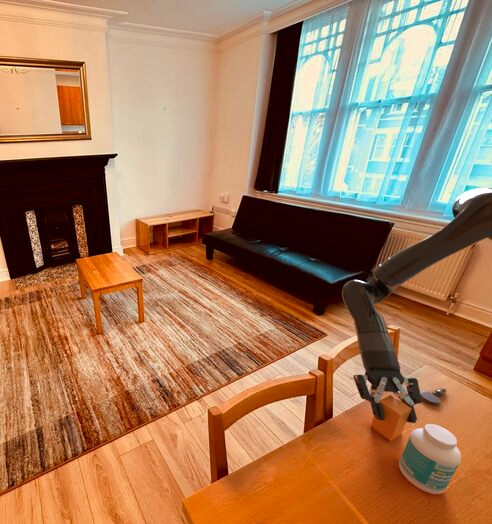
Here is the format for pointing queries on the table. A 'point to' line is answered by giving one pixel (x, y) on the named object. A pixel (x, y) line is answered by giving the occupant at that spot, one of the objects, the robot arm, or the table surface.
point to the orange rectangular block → (392, 418)
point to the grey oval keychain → (433, 396)
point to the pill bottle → (430, 458)
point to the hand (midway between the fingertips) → (396, 421)
